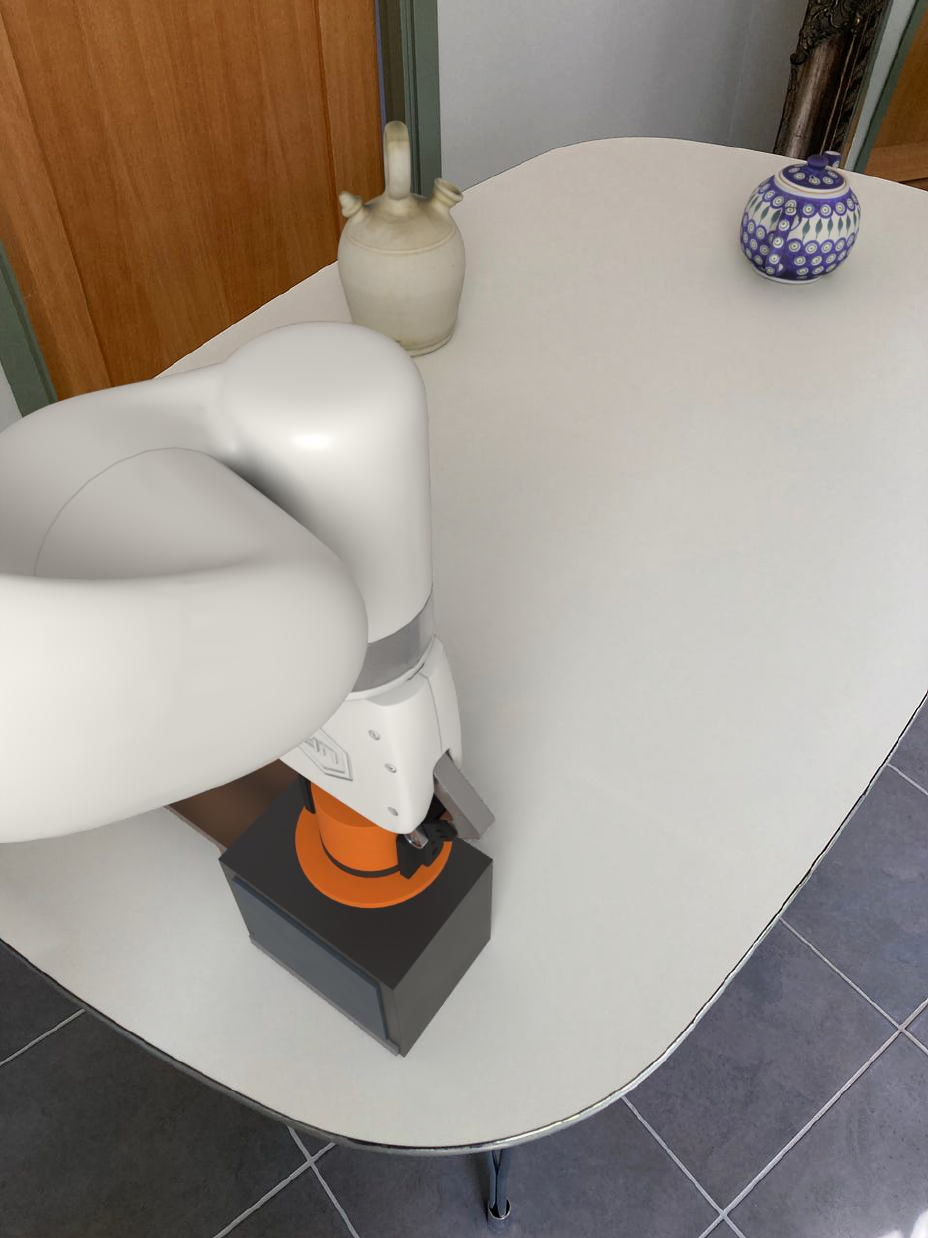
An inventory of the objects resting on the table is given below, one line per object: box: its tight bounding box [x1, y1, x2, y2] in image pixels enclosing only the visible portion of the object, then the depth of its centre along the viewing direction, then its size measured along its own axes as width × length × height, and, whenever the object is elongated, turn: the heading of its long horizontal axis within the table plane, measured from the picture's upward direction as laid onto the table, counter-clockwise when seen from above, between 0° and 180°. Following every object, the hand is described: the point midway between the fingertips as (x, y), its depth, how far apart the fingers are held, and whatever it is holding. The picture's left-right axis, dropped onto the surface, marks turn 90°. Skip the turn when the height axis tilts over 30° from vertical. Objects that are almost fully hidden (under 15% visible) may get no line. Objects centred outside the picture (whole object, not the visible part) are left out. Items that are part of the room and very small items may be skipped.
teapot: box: [739, 150, 862, 285], centre depth 126 cm, size 25×15×15 cm, turn 148°
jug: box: [337, 120, 467, 358], centre depth 112 cm, size 15×16×25 cm
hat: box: [295, 781, 452, 908], centre depth 53 cm, size 9×9×6 cm
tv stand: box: [163, 759, 298, 856], centre depth 77 cm, size 12×20×4 cm, turn 54°
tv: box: [217, 777, 494, 1058], centre depth 64 cm, size 10×14×12 cm
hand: (373, 824), depth 54 cm, fingers closed on hat, 6 cm apart
